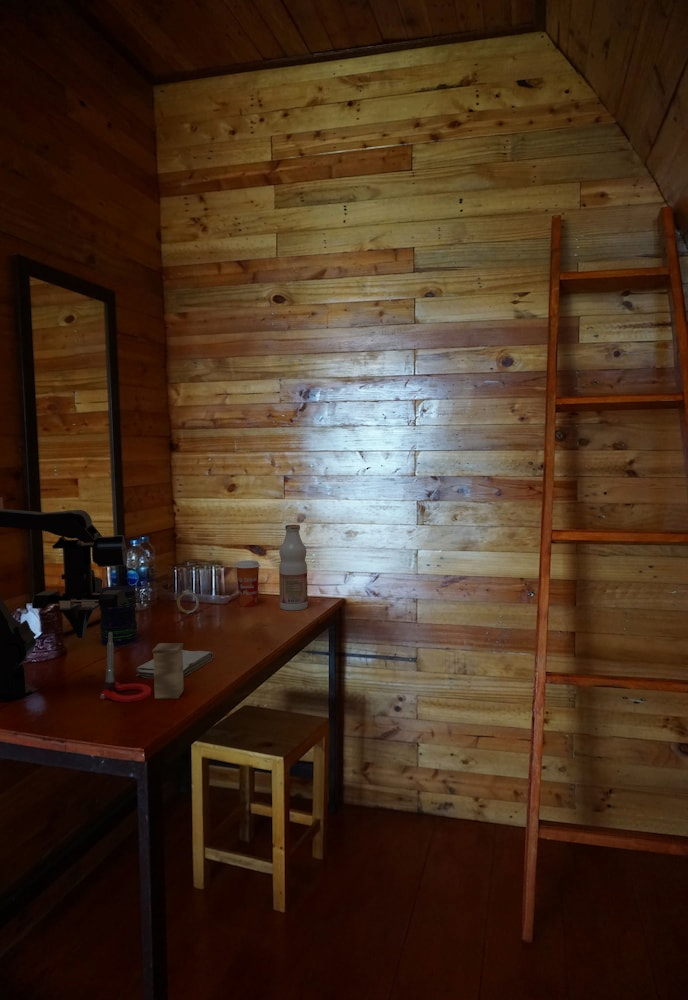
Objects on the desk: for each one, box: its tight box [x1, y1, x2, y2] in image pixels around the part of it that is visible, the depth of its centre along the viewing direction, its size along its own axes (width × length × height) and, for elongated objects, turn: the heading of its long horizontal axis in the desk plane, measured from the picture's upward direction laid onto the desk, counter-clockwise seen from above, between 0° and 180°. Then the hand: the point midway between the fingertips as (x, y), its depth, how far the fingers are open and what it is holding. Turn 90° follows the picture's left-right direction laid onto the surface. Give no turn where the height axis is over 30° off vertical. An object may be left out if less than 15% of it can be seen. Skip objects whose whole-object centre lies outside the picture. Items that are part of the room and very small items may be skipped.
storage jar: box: [98, 577, 138, 648], centre depth 190 cm, size 10×10×18 cm
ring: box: [176, 588, 200, 614], centre depth 223 cm, size 7×3×8 cm, turn 83°
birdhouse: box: [151, 642, 184, 699], centre depth 151 cm, size 5×9×11 cm, turn 0°
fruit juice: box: [278, 524, 309, 612], centre depth 229 cm, size 9×9×28 cm
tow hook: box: [98, 632, 152, 703], centre depth 149 cm, size 9×14×10 cm
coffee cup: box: [235, 559, 261, 608], centre depth 234 cm, size 8×8×15 cm
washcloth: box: [135, 649, 214, 680], centre depth 168 cm, size 12×18×3 cm, turn 163°
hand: (81, 637), depth 151 cm, fingers closed
